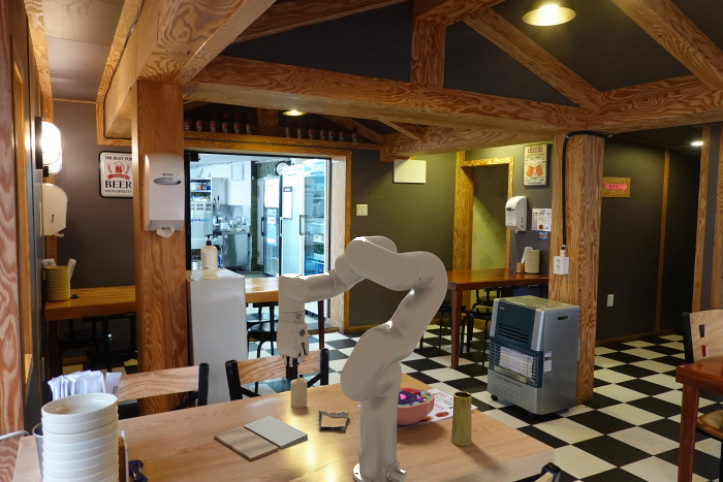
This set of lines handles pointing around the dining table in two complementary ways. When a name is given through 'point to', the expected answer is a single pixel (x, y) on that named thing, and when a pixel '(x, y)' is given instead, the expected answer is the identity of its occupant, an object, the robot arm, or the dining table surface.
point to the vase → (462, 419)
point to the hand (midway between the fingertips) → (291, 379)
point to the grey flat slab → (276, 432)
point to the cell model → (413, 405)
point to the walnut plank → (246, 443)
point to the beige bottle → (299, 392)
